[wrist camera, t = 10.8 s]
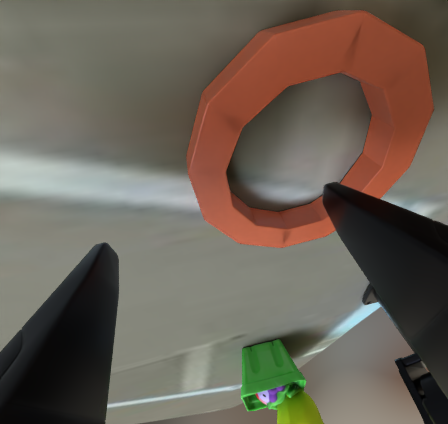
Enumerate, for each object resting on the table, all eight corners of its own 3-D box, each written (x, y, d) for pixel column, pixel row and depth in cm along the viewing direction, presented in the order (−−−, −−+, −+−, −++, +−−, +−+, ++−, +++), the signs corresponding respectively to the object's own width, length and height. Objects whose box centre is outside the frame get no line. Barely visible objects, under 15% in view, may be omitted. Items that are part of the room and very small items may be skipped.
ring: (371, 204, 15) (387, 220, 14) (216, 245, 15) (220, 264, 14) (444, -19, 8) (490, -24, 7) (152, 58, 8) (149, 67, 7)
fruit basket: (230, 347, 29) (255, 484, 20) (298, 330, 29) (350, 459, 21) (239, 370, 36) (260, 477, 28) (293, 357, 37) (329, 459, 28)
